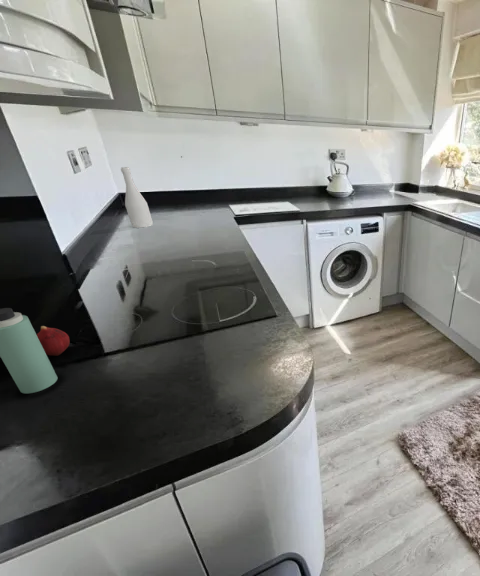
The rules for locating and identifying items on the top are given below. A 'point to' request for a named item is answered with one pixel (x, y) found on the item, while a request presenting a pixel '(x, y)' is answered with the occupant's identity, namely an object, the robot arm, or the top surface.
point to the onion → (53, 340)
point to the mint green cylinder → (24, 353)
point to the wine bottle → (135, 203)
